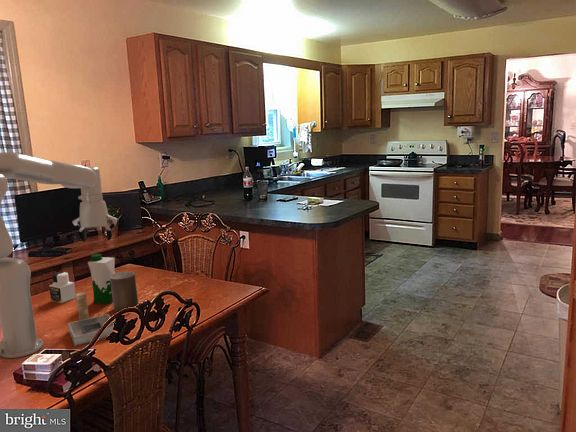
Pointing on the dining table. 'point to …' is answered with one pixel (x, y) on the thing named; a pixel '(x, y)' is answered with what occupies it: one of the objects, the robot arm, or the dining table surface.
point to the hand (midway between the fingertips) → (97, 240)
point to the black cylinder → (82, 306)
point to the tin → (88, 329)
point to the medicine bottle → (61, 288)
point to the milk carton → (101, 277)
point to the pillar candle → (123, 290)
